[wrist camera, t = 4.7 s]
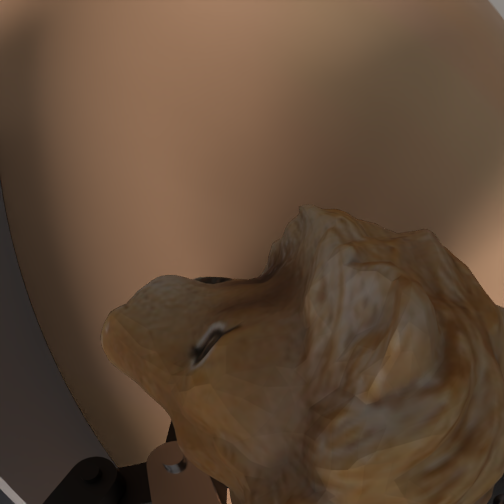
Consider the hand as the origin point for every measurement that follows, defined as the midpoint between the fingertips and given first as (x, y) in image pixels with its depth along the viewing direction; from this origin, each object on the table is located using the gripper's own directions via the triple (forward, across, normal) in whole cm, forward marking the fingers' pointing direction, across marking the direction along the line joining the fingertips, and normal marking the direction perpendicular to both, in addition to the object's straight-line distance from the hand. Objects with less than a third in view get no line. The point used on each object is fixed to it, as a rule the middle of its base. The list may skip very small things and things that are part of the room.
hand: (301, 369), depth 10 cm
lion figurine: (+1, 0, +1) cm, 2 cm away
